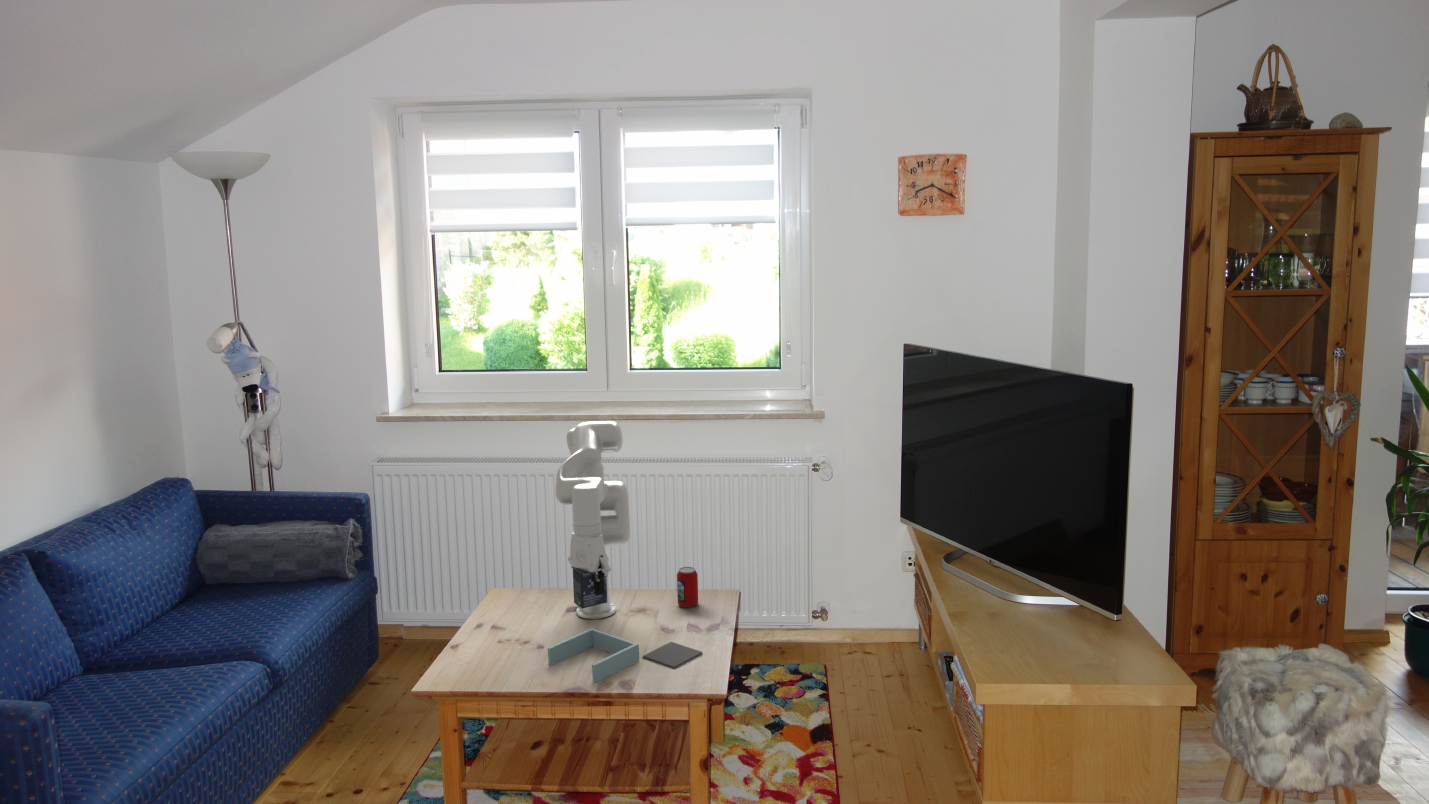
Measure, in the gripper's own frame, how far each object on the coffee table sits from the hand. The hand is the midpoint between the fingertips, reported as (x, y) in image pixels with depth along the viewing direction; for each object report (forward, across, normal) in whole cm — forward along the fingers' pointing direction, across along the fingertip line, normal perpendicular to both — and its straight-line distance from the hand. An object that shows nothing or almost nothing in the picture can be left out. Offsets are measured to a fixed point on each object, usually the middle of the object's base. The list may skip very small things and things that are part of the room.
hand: (590, 590), depth 260 cm
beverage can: (+22, -7, +48) cm, 54 cm away
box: (+4, 0, 0) cm, 4 cm away
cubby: (+22, 0, 0) cm, 22 cm away
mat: (+22, +15, +17) cm, 31 cm away
